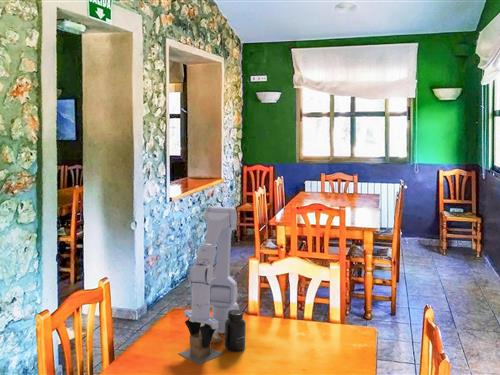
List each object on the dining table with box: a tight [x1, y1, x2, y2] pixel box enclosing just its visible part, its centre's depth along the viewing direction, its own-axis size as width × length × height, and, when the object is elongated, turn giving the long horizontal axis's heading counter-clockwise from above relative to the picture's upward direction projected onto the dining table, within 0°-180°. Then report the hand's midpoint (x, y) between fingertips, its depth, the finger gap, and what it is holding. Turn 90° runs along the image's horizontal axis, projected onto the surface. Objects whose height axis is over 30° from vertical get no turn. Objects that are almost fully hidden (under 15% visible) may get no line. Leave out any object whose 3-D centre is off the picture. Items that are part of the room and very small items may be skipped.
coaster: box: [178, 347, 224, 365], centre depth 161 cm, size 10×10×1 cm
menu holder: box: [200, 323, 223, 344], centre depth 173 cm, size 10×3×6 cm, turn 45°
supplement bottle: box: [223, 309, 247, 353], centre depth 165 cm, size 7×7×12 cm
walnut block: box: [189, 332, 211, 358], centre depth 161 cm, size 4×4×6 cm
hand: (200, 344), depth 161 cm, fingers open, 5 cm apart
